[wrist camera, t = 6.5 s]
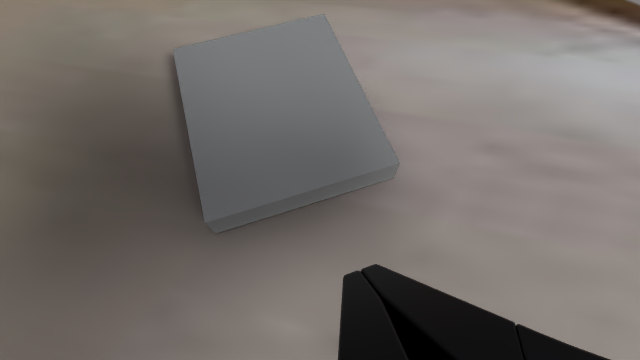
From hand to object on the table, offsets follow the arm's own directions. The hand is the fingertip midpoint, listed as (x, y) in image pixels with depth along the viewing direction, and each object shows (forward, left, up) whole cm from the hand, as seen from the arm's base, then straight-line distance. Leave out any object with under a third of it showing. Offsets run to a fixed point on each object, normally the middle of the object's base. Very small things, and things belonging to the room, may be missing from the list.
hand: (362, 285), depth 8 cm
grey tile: (+5, -2, -7) cm, 9 cm away
